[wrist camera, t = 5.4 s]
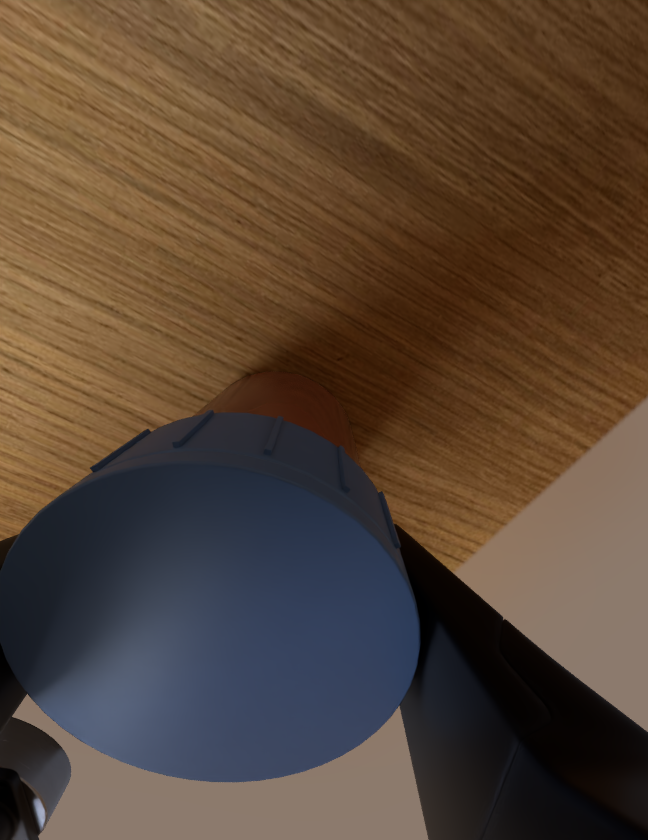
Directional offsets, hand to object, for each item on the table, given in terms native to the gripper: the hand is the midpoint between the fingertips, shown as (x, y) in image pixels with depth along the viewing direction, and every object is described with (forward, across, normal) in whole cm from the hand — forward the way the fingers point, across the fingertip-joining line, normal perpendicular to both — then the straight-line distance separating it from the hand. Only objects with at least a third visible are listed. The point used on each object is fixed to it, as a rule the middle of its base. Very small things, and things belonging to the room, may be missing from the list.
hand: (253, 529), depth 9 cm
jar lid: (-3, 0, 0) cm, 3 cm away
